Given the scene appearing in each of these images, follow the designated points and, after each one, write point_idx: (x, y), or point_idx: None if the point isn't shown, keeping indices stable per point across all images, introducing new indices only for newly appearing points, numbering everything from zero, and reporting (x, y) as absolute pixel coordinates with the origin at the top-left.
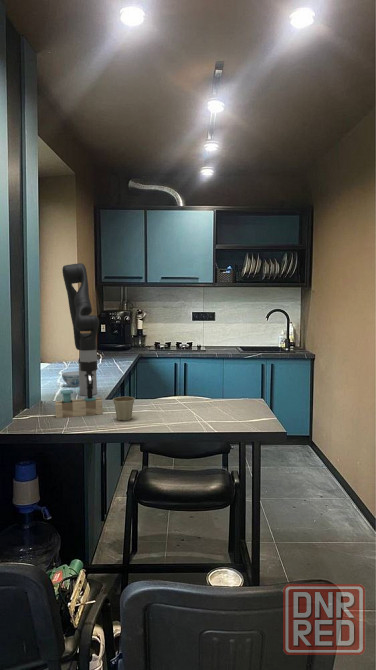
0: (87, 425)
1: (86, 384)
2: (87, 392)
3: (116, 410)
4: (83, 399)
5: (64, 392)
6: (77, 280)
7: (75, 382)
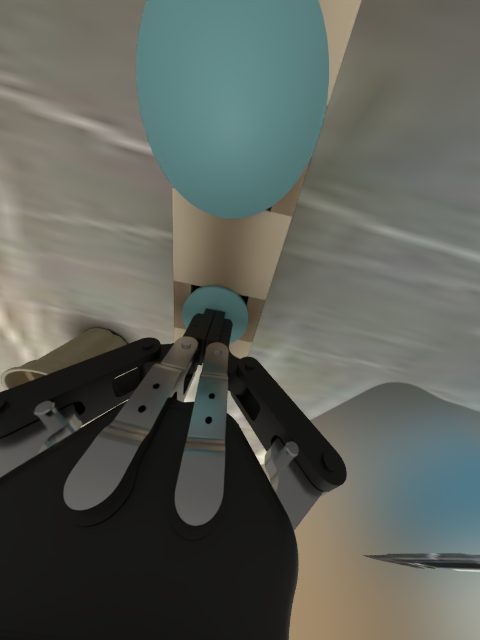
0: (21, 214)
1: (152, 373)
2: (196, 329)
3: (65, 345)
4: (251, 289)
5: (141, 28)
6: None
7: None
